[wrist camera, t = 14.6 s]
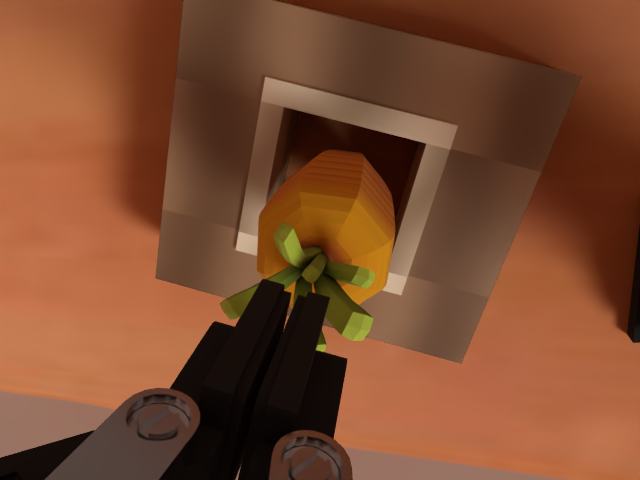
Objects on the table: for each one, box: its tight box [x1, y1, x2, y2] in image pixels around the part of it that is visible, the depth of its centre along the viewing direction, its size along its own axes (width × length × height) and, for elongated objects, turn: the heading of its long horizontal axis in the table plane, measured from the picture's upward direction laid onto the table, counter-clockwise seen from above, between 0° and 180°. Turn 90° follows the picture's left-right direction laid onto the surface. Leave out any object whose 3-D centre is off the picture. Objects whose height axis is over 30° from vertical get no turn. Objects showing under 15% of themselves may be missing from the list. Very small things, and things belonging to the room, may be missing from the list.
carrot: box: [220, 149, 396, 352], centre depth 20 cm, size 5×5×15 cm
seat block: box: [156, 0, 581, 363], centre depth 25 cm, size 16×14×4 cm
